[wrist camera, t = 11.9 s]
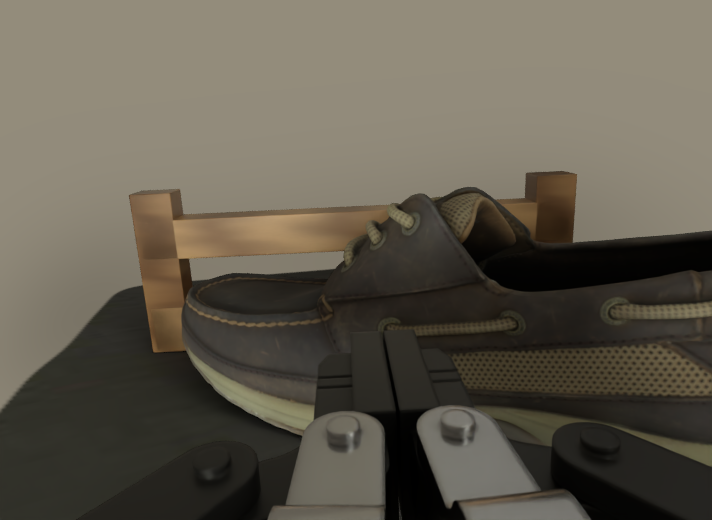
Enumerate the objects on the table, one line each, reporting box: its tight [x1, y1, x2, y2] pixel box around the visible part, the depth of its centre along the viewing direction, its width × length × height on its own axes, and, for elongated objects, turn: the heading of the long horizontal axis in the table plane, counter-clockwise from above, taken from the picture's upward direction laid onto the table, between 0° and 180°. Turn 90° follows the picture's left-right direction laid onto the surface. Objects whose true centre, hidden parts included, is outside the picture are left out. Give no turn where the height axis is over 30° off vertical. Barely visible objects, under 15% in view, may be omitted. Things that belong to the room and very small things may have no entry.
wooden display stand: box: [129, 171, 577, 352], centre depth 35 cm, size 27×8×10 cm, turn 92°
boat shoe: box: [181, 187, 712, 467], centre depth 24 cm, size 11×29×11 cm, turn 69°
